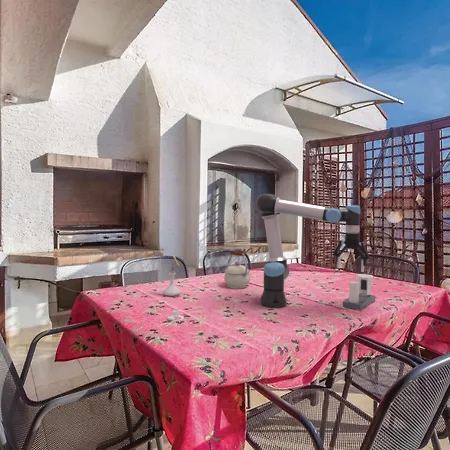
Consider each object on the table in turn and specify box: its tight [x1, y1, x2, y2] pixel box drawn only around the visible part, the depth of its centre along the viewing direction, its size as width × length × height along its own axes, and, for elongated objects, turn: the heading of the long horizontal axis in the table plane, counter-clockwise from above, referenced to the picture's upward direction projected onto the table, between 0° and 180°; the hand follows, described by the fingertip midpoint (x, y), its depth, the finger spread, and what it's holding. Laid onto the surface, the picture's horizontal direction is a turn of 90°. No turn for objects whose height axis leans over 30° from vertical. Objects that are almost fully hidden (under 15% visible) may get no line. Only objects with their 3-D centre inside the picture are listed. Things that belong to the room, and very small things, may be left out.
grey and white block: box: [342, 277, 376, 311], centre depth 197 cm, size 10×26×14 cm, turn 139°
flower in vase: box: [162, 254, 182, 297], centre depth 214 cm, size 13×11×25 cm
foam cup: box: [356, 273, 374, 295], centre depth 215 cm, size 10×9×13 cm
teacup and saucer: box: [166, 309, 185, 322], centre depth 168 cm, size 9×8×4 cm
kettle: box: [223, 250, 251, 290], centre depth 239 cm, size 25×18×25 cm
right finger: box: [348, 281, 359, 304], centre depth 190 cm, size 5×4×13 cm
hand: (350, 269), depth 192 cm, fingers open, 13 cm apart
